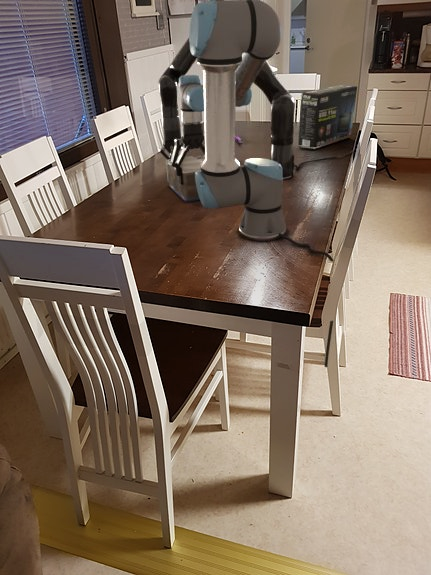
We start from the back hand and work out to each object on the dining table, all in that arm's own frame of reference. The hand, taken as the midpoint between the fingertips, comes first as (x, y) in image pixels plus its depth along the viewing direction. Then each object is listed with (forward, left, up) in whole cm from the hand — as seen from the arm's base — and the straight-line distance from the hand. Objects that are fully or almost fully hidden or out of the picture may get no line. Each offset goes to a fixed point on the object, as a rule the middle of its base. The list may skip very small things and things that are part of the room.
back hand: (175, 169), depth 198 cm
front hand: (0, +25, +2) cm, 25 cm away
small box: (0, +18, -4) cm, 19 cm away
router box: (-90, -21, -4) cm, 93 cm away
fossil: (-23, -13, -4) cm, 27 cm away
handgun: (-50, -52, -4) cm, 73 cm away
